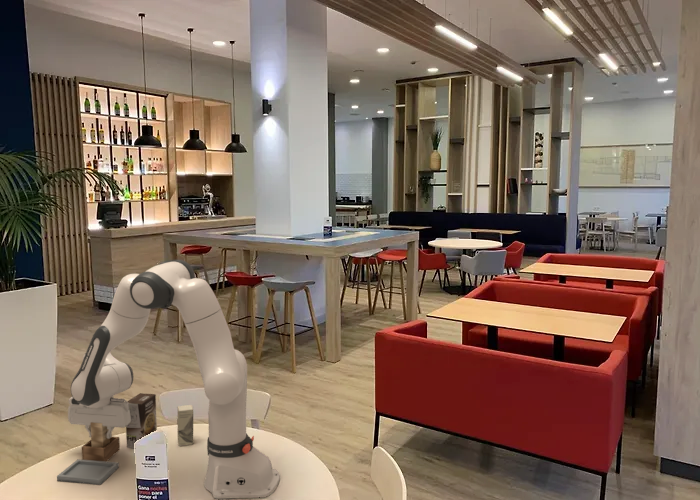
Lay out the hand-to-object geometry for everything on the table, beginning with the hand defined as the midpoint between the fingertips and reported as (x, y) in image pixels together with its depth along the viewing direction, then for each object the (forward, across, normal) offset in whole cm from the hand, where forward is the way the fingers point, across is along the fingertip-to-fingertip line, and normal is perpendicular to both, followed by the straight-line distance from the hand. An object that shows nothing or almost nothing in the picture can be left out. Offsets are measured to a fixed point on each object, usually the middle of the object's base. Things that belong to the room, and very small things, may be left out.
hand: (100, 437), depth 176 cm
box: (+6, -24, -12) cm, 28 cm away
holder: (+6, 0, 0) cm, 6 cm away
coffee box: (+6, -9, -10) cm, 15 cm away
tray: (+6, -3, +12) cm, 13 cm away
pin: (+6, 0, 0) cm, 6 cm away
